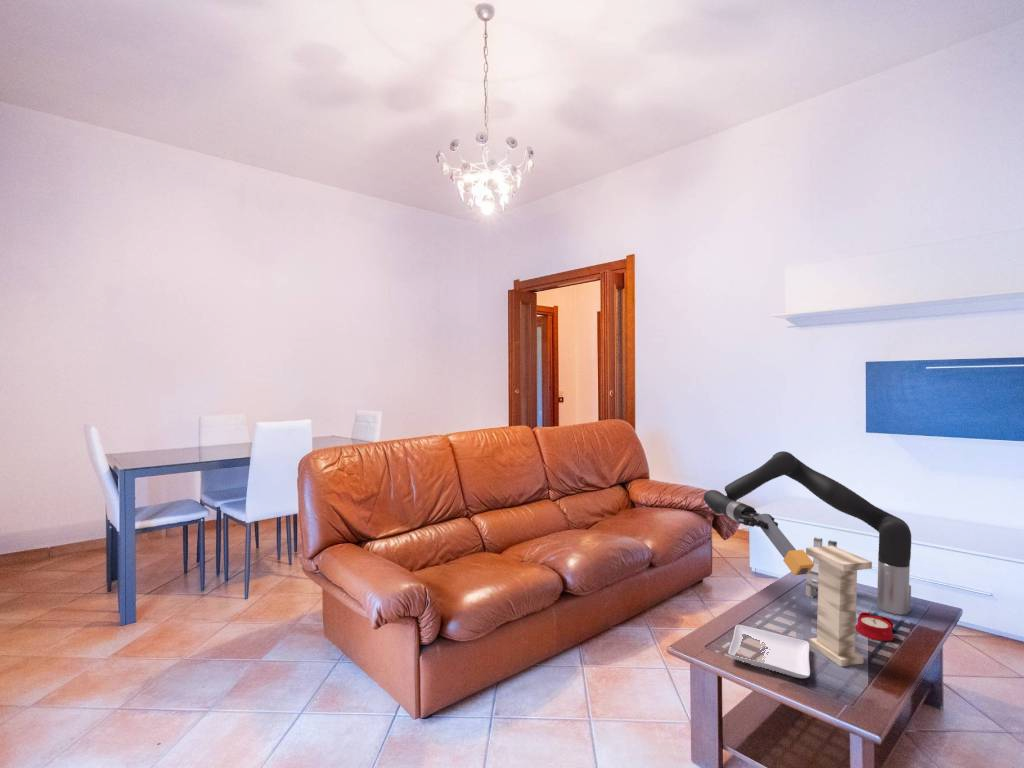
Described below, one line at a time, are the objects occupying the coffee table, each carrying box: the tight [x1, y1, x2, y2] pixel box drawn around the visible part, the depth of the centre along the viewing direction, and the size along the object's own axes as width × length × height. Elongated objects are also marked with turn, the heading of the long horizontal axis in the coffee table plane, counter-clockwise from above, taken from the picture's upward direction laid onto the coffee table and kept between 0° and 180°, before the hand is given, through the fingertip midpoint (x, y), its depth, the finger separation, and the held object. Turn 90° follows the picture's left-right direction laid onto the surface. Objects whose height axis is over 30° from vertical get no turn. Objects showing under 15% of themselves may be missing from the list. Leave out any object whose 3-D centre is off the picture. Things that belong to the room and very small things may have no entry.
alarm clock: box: [855, 611, 895, 642], centre depth 170 cm, size 10×6×15 cm
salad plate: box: [727, 624, 811, 679], centre depth 154 cm, size 21×21×3 cm
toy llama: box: [805, 536, 838, 598], centre depth 198 cm, size 8×18×20 cm, turn 136°
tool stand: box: [805, 545, 873, 667], centre depth 156 cm, size 10×14×31 cm
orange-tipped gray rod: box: [757, 513, 814, 576], centre depth 178 cm, size 6×24×5 cm
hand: (772, 526), depth 183 cm, fingers closed on orange-tipped gray rod, 3 cm apart
